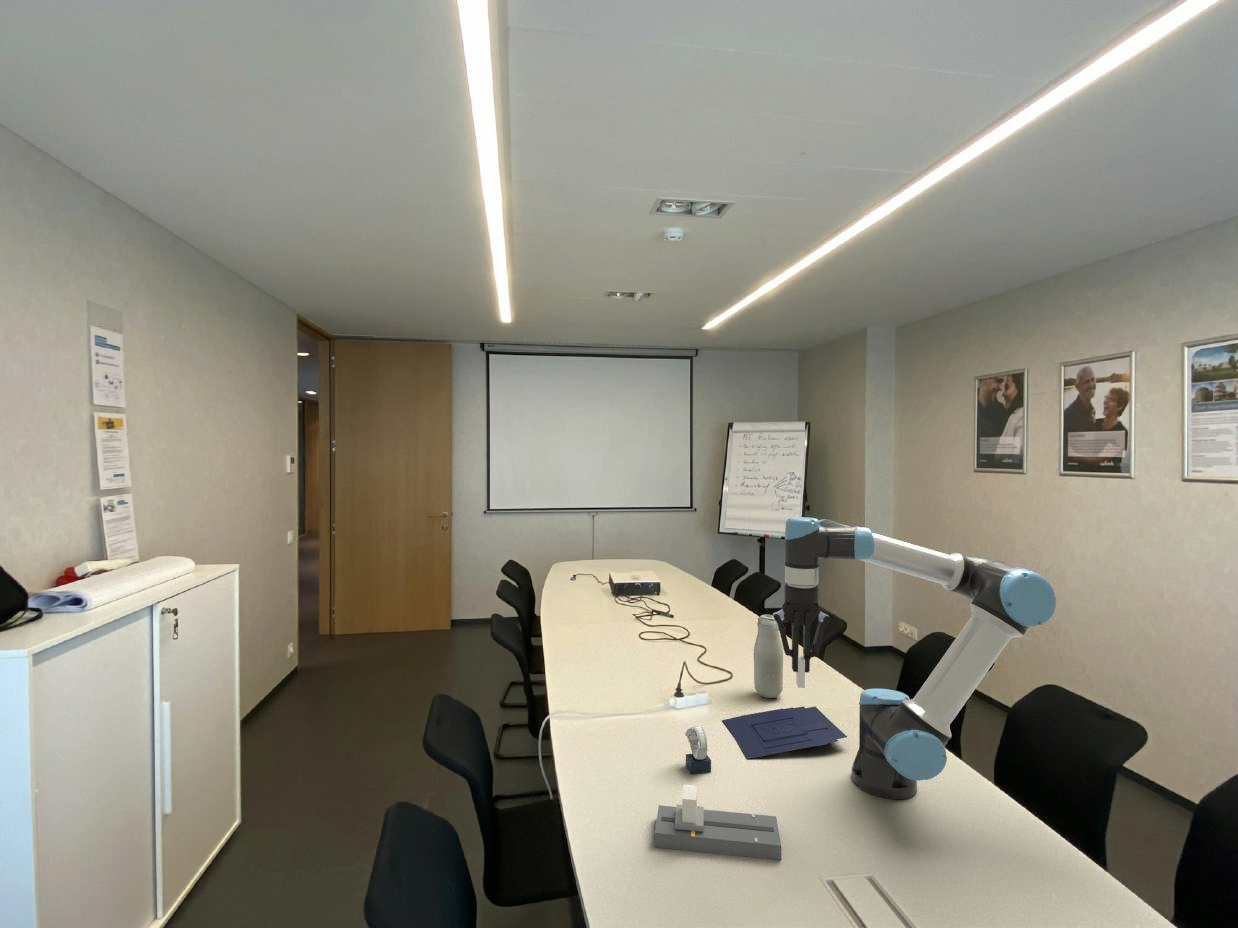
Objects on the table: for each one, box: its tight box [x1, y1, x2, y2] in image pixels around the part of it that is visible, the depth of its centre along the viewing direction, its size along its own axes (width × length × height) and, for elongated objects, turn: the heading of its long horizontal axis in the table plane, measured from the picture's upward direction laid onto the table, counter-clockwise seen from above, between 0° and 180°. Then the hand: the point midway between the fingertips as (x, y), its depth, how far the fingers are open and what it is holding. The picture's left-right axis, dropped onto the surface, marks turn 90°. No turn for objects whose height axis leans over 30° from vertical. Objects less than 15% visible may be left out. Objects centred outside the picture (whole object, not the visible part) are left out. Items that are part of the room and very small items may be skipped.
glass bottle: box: [753, 614, 784, 699], centre depth 205 cm, size 10×10×28 cm
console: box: [654, 804, 782, 861], centre depth 129 cm, size 26×10×3 cm, turn 81°
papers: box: [721, 706, 848, 760], centre depth 176 cm, size 24×30×4 cm
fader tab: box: [675, 784, 705, 832], centre depth 130 cm, size 6×7×6 cm
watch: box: [684, 724, 712, 775], centre depth 157 cm, size 6×8×11 cm
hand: (800, 685), depth 139 cm, fingers closed
